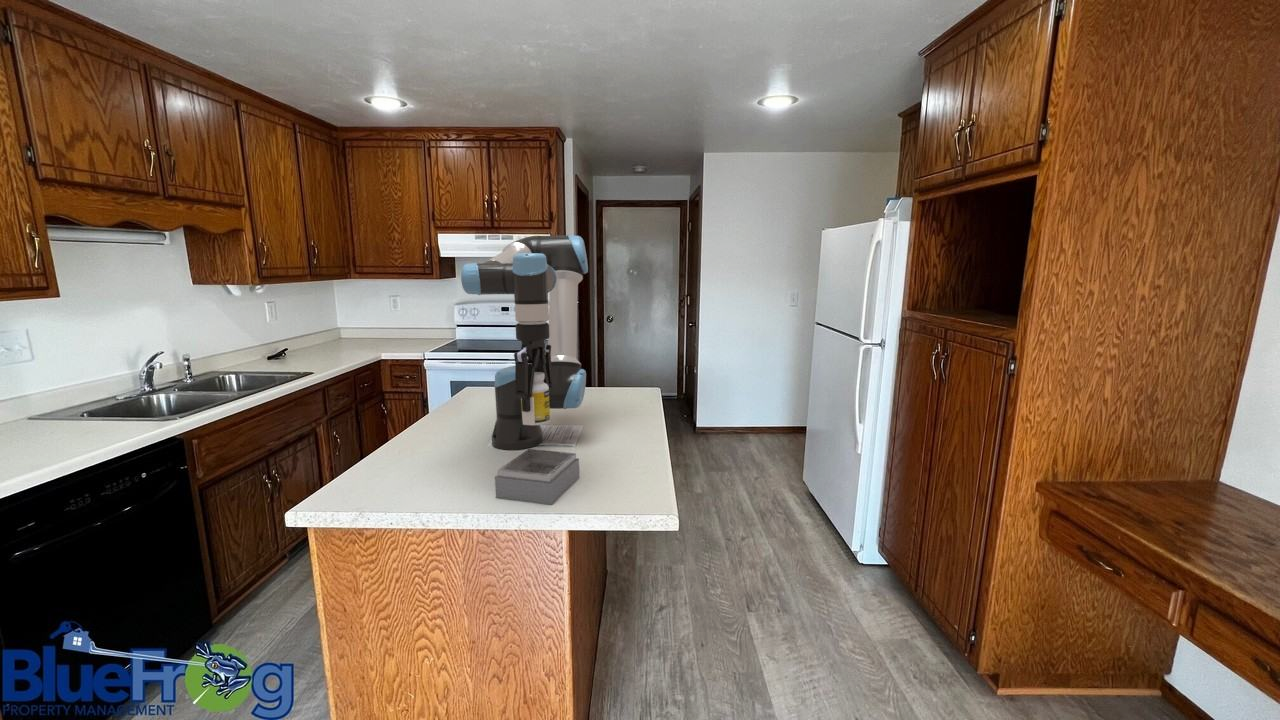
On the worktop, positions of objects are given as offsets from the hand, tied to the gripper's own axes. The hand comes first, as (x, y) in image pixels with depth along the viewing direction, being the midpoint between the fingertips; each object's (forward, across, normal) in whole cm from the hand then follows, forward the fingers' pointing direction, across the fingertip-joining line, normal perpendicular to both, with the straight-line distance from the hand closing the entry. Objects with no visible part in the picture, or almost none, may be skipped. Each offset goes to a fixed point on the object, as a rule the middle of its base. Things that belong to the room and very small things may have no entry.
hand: (536, 420), depth 123 cm
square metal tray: (+17, 0, -1) cm, 17 cm away
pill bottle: (+1, 0, 0) cm, 1 cm away
